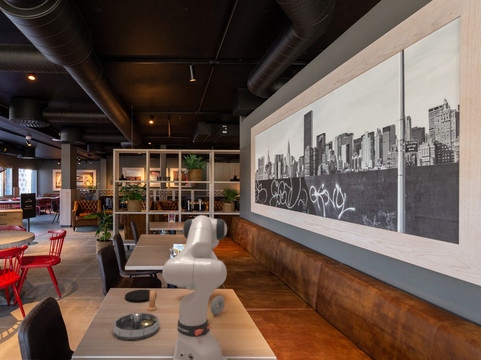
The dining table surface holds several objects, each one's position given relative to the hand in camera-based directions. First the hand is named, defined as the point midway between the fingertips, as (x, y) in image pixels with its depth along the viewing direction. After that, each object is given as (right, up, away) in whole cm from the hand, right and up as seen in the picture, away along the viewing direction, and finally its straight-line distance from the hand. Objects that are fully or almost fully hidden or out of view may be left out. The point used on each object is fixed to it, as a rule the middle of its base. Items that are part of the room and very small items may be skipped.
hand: (174, 282), depth 179 cm
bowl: (-11, -12, -31) cm, 35 cm away
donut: (+25, -14, -11) cm, 31 cm away
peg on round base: (-11, -12, -7) cm, 18 cm away
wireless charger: (-22, -13, +10) cm, 28 cm away
